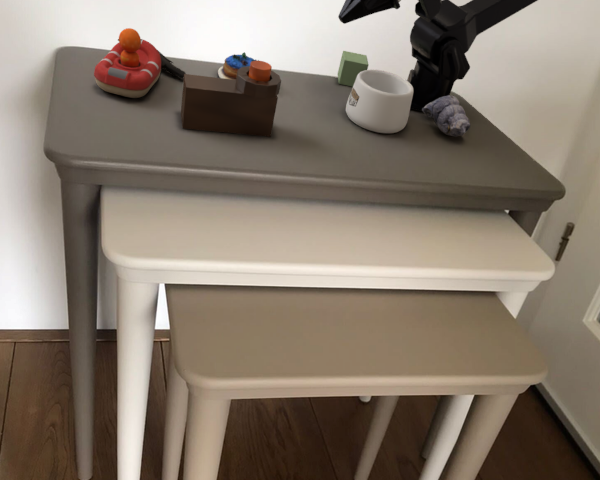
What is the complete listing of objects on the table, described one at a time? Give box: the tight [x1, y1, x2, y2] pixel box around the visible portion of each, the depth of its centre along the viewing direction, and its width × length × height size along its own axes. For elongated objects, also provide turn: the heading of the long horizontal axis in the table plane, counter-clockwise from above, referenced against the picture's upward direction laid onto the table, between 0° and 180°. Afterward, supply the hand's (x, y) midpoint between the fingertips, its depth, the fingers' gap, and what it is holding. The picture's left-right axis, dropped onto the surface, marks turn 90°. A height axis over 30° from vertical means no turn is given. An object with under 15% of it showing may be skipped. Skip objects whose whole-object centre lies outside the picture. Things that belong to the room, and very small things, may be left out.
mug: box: [345, 69, 413, 134], centre depth 101 cm, size 12×10×6 cm
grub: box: [421, 95, 471, 137], centre depth 103 cm, size 5×5×10 cm
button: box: [249, 60, 273, 82], centre depth 87 cm, size 3×3×2 cm
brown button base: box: [180, 66, 282, 138], centre depth 89 cm, size 12×6×8 cm, turn 101°
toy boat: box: [93, 27, 162, 99], centre depth 92 cm, size 8×12×8 cm, turn 173°
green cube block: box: [337, 50, 369, 88], centre depth 110 cm, size 4×4×4 cm
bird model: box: [117, 38, 187, 79], centre depth 100 cm, size 3×14×3 cm, turn 61°
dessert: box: [217, 52, 260, 80], centre depth 103 cm, size 8×7×6 cm
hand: (340, 20), depth 91 cm, fingers closed
